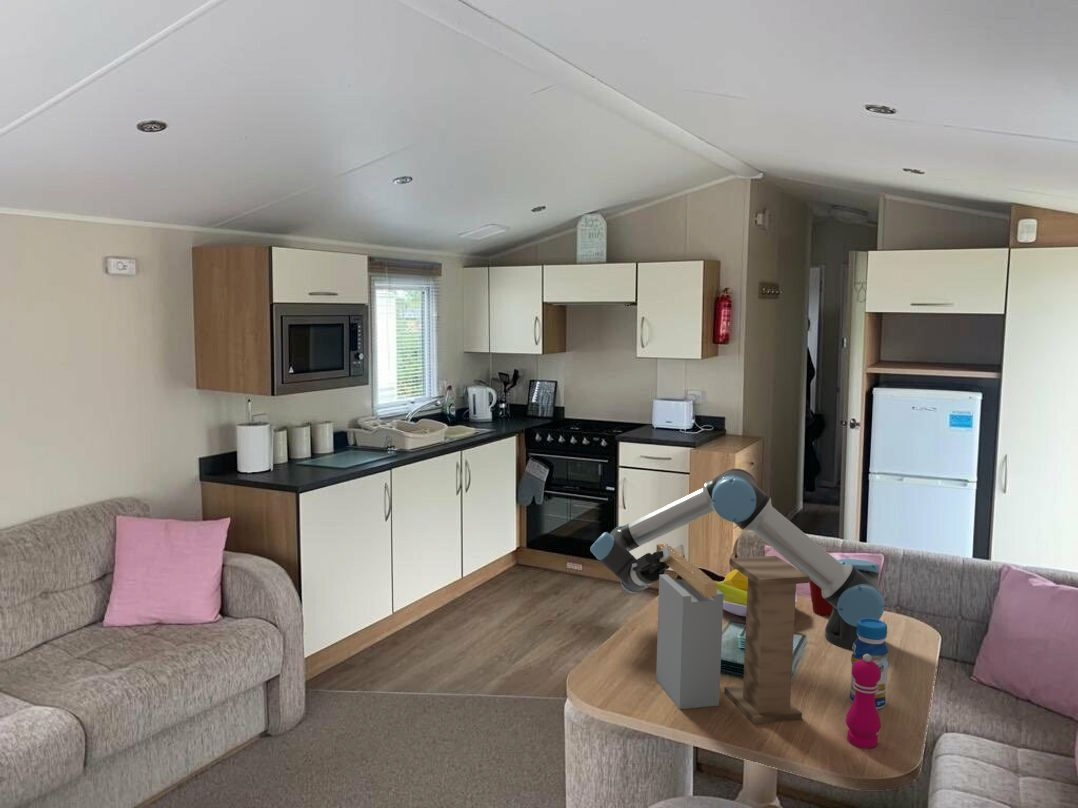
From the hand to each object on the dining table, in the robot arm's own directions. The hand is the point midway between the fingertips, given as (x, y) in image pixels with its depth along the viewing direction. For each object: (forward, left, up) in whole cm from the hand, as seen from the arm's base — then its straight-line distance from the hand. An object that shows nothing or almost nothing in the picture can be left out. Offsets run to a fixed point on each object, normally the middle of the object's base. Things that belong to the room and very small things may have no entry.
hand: (675, 550), depth 220 cm
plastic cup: (-37, -60, -33) cm, 78 cm away
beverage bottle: (-47, 0, -33) cm, 57 cm away
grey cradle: (-5, +9, -33) cm, 34 cm away
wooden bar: (-3, +5, -4) cm, 8 cm away
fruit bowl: (-15, -54, -33) cm, 65 cm away
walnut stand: (-23, +10, -33) cm, 41 cm away
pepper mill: (-45, +20, -33) cm, 59 cm away
